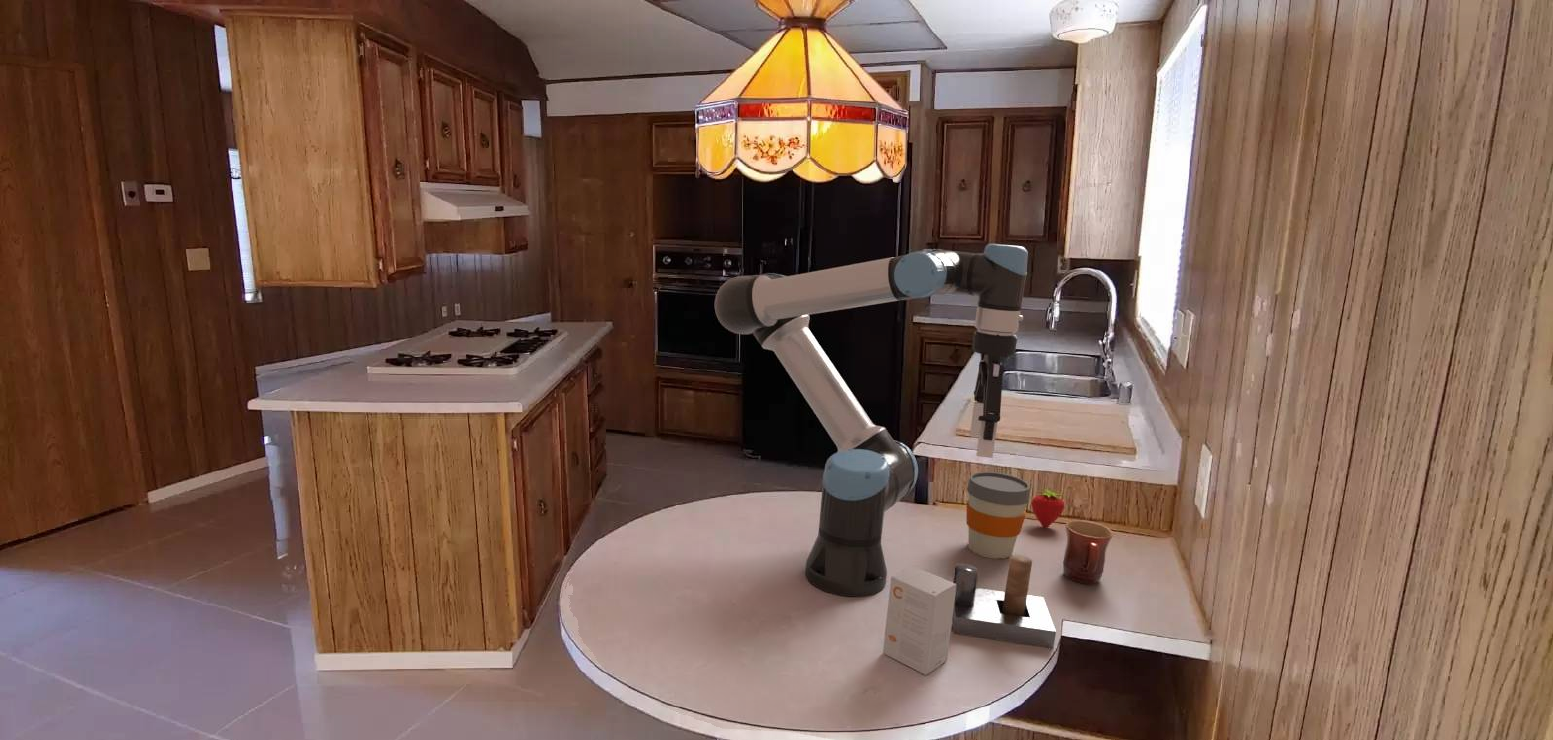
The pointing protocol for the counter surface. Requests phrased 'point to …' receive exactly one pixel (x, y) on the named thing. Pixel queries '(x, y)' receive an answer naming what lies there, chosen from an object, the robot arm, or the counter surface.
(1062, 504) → the strawberry
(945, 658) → the small box
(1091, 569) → the mug
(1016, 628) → the square hole fixture
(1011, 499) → the reusable coffee cup
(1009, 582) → the wooden cylinder
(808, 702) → the counter surface
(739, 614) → the counter surface
